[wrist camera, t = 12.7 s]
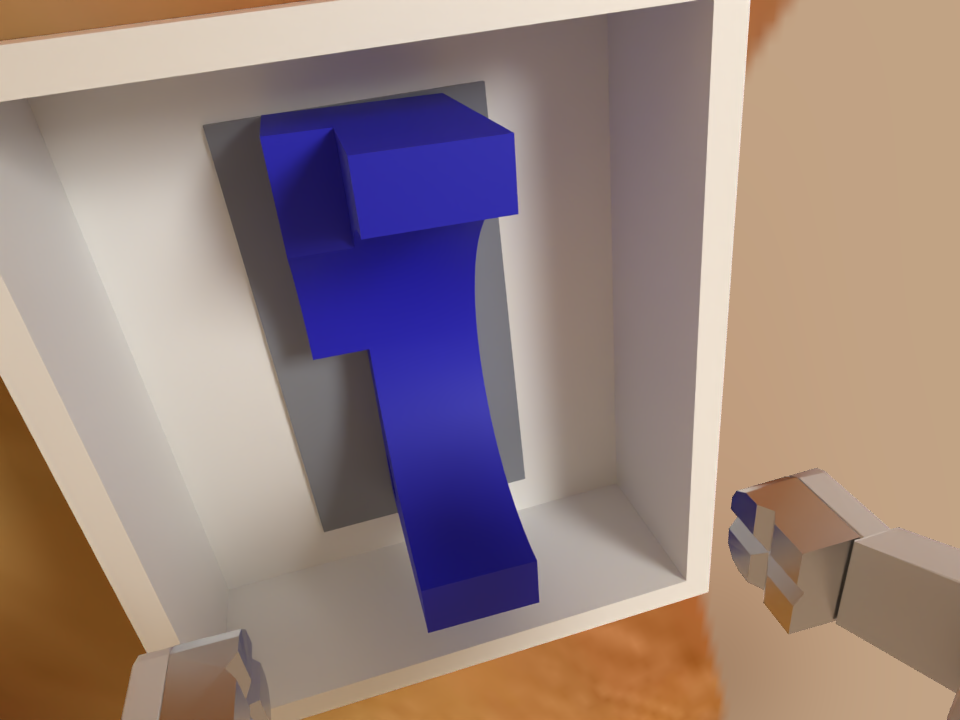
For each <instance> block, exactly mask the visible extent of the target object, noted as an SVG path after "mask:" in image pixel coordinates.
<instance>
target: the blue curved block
mask: <svg viewBox="0 0 960 720" xmlns="http://www.w3.org/2000/svg"><path fill="white" fill-rule="evenodd" d="M260 141H261V145H262V150H263V154H264V158H265V163H266V167H267V172H268V176H269V180H270V185H271V189H272V194H273V198H274V202H275V207H276V211H277V216H278V220H279V224H280V229H281V233H282V238H283V242H284V247H285V251H286V255H287V260H288V263H289V266H290V269H291V273H292V276H293V280H294V283H295V287H296V291H297V295H298V299H299V303H300V306H301V311H302V315H303V319H304V323H305V327H306V331H307V335H308V340H309V344H310V348H311V353H312V357H313V360H316V359H322V358H327V357H332V356H337V355H342V354H348V353H353V352H358V351H363V350H367V352H368V357H369V363H370V368H371V374H372V379H373V385H374V390H375V396H376V402H377V407H378V413H379V418H380V424H381V429H382V435H383V440H384V446H385V452H386V457H387V463H388V468H389V474H390V479H391V485H392V490H393V494H394V498H395V502H396V506H397V510H398V514H399V518H400V522H401V526H402V530H403V534H404V538H405V542H406V546H407V550H408V554H409V558H410V562H411V566H412V570H413V574H414V578H415V582H416V586H417V590H418V594H419V598H420V602H421V606H422V610H423V614H424V618H425V622H426V626H427V630H428V633H431V632H434V631H438V630H442V629H445V628H449V627H452V626H456V625H460V624H463V623H467V622H470V621H474V620H478V619H481V618H485V617H489V616H492V615H496V614H499V613H503V612H507V611H510V610H514V609H518V608H521V607H525V606H528V605H532V604H536V603H539V584H538V566H537V559H536V557H535V555H534V553H533V550H532V548H531V546H530V543H529V541H528V539H527V536H526V534H525V531H524V529H523V526H522V523H521V521H520V518H519V515H518V512H517V509H516V507H515V504H514V501H513V498H512V495H511V491H510V488H509V485H508V482H507V478H506V475H505V472H504V468H503V465H502V461H501V457H500V454H499V450H498V446H497V442H496V438H495V434H494V429H493V425H492V420H491V416H490V411H489V406H488V401H487V396H486V390H485V385H484V379H483V373H482V366H481V359H480V352H479V343H478V334H477V323H476V308H475V264H476V253H477V246H478V240H479V236H480V232H481V228H482V226H483V223H484V221H485V220H486V219H492V218H498V217H504V216H511V215H517V214H519V213H518V194H517V176H516V157H515V139H514V132H512V131H510V130H508V129H506V128H505V127H503V126H501V125H499V124H497V123H496V122H494V121H492V120H490V119H488V118H487V117H485V116H483V115H481V114H479V113H478V112H476V111H474V110H472V109H471V108H469V107H467V106H465V105H463V104H462V103H460V102H458V101H456V100H454V99H453V98H451V97H449V96H447V95H445V94H444V93H438V94H430V95H422V96H413V97H405V98H397V99H389V100H381V101H373V102H365V103H357V104H348V105H340V106H332V107H324V108H316V109H308V110H299V111H291V112H283V113H275V114H267V115H261V123H260Z"/></svg>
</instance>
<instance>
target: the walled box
mask: <svg viewBox="0 0 960 720" xmlns="http://www.w3.org/2000/svg"><path fill="white" fill-rule="evenodd" d="M749 13H750V0H308V1H300V2H293V3H285V4H277V5H270V6H262V7H255V8H247V9H239V10H232V11H224V12H216V13H209V14H201V15H194V16H186V17H178V18H171V19H163V20H156V21H148V22H140V23H133V24H125V25H118V26H110V27H102V28H95V29H87V30H80V31H72V32H64V33H57V34H49V35H42V36H34V37H26V38H19V39H11V40H4V41H0V376H1V378H2V380H3V381H4V383H5V385H6V387H7V389H8V391H9V393H10V395H11V397H12V399H13V400H14V402H15V404H16V406H17V408H18V410H19V412H20V414H21V416H22V417H23V419H24V421H25V423H26V425H27V427H28V429H29V431H30V433H31V435H32V436H33V438H34V440H35V442H36V444H37V446H38V448H39V450H40V452H41V453H42V455H43V457H44V459H45V461H46V463H47V465H48V467H49V469H50V471H51V472H52V474H53V476H54V478H55V480H56V482H57V484H58V486H59V488H60V489H61V491H62V493H63V495H64V497H65V499H66V501H67V503H68V505H69V507H70V508H71V510H72V512H73V514H74V516H75V518H76V520H77V522H78V524H79V525H80V527H81V529H82V531H83V533H84V535H85V537H86V539H87V541H88V543H89V544H90V546H91V548H92V550H93V552H94V554H95V556H96V558H97V560H98V561H99V563H100V565H101V567H102V569H103V571H104V573H105V575H106V577H107V579H108V580H109V582H110V584H111V586H112V588H113V590H114V592H115V594H116V596H117V597H118V599H119V601H120V603H121V605H122V607H123V609H124V611H125V613H126V615H127V616H128V618H129V620H130V622H131V624H132V626H133V628H134V630H135V632H136V633H137V635H138V637H139V639H140V641H141V643H142V645H143V647H144V649H145V651H146V652H147V653H150V652H154V651H158V650H161V649H165V648H169V647H173V646H175V645H179V644H183V643H187V642H191V641H195V640H199V639H203V638H207V637H211V636H215V635H219V634H223V633H227V632H231V631H235V630H239V629H246V631H247V634H248V636H249V638H250V640H251V642H252V659H254V660H256V661H258V662H260V663H261V666H262V668H263V670H264V673H265V677H266V680H267V684H268V689H269V697H270V705H271V720H300V719H303V718H307V717H310V716H313V715H316V714H319V713H323V712H326V711H329V710H332V709H335V708H339V707H342V706H345V705H348V704H351V703H355V702H358V701H361V700H364V699H367V698H371V697H374V696H377V695H380V694H383V693H387V692H390V691H393V690H396V689H399V688H403V687H406V686H409V685H412V684H415V683H419V682H422V681H425V680H428V679H431V678H435V677H438V676H441V675H444V674H447V673H451V672H454V671H457V670H460V669H463V668H467V667H470V666H473V665H476V664H479V663H483V662H486V661H489V660H492V659H496V658H499V657H502V656H505V655H508V654H512V653H515V652H518V651H521V650H524V649H528V648H531V647H534V646H537V645H540V644H544V643H547V642H550V641H553V640H556V639H560V638H563V637H566V636H569V635H572V634H576V633H579V632H582V631H585V630H588V629H592V628H595V627H598V626H601V625H604V624H608V623H611V622H614V621H617V620H620V619H624V618H627V617H630V616H633V615H636V614H640V613H643V612H646V611H649V610H652V609H656V608H659V607H662V606H665V605H668V604H672V603H675V602H678V601H681V600H684V599H688V598H691V597H694V596H697V595H700V594H704V593H707V592H708V591H709V577H710V563H711V549H712V535H713V521H714V506H715V493H716V479H717V464H718V450H719V436H720V421H721V408H722V393H723V380H724V365H725V351H726V337H727V323H728V308H729V295H730V281H731V267H732V265H731V264H732V253H733V238H734V224H735V210H736V196H737V182H738V168H739V154H740V153H739V152H740V140H741V126H742V125H741V124H742V111H743V97H744V83H745V69H746V55H747V41H748V27H749ZM438 93H444V94H445V95H447V96H449V97H451V98H453V99H454V100H456V101H458V102H460V103H462V104H463V105H465V106H467V107H469V108H471V109H472V110H474V111H476V112H478V113H479V114H481V115H483V116H485V117H487V118H488V119H490V120H492V121H494V122H496V123H497V124H499V125H501V126H503V127H505V128H506V129H508V130H510V131H512V132H514V139H515V157H516V176H517V194H518V213H519V214H517V215H511V216H504V217H498V218H492V219H486V220H485V221H484V223H483V226H482V228H481V232H480V236H479V240H478V246H477V253H476V264H475V308H476V323H477V334H478V343H479V352H480V359H481V366H482V373H483V379H484V385H485V390H486V396H487V401H488V406H489V411H490V416H491V420H492V425H493V429H494V434H495V438H496V442H497V446H498V450H499V454H500V457H501V461H502V465H503V468H504V472H505V475H506V478H507V482H508V485H509V488H510V491H511V495H512V498H513V501H514V504H515V507H516V509H517V512H518V515H519V518H520V521H521V523H522V526H523V529H524V531H525V534H526V536H527V539H528V541H529V543H530V546H531V548H532V550H533V553H534V555H535V557H536V559H537V566H538V584H539V603H536V604H532V605H528V606H525V607H521V608H518V609H514V610H510V611H507V612H503V613H499V614H496V615H492V616H489V617H485V618H481V619H478V620H474V621H470V622H467V623H463V624H460V625H456V626H452V627H449V628H445V629H442V630H438V631H434V632H431V633H428V630H427V626H426V622H425V618H424V614H423V610H422V606H421V602H420V598H419V594H418V590H417V586H416V582H415V578H414V574H413V570H412V566H411V562H410V558H409V554H408V550H407V546H406V542H405V538H404V534H403V530H402V526H401V522H400V518H399V514H398V510H397V506H396V502H395V498H394V494H393V490H392V485H391V479H390V474H389V468H388V463H387V457H386V452H385V446H384V440H383V435H382V429H381V424H380V418H379V413H378V407H377V402H376V396H375V390H374V385H373V379H372V374H371V368H370V363H369V357H368V352H367V350H363V351H358V352H353V353H348V354H342V355H337V356H332V357H327V358H322V359H316V360H313V357H312V353H311V348H310V344H309V340H308V335H307V331H306V327H305V323H304V319H303V315H302V311H301V306H300V303H299V299H298V295H297V291H296V287H295V283H294V280H293V276H292V273H291V269H290V266H289V263H288V260H287V255H286V251H285V247H284V242H283V238H282V233H281V229H280V224H279V220H278V216H277V211H276V207H275V202H274V198H273V194H272V189H271V185H270V180H269V176H268V172H267V167H266V163H265V158H264V154H263V150H262V145H261V141H260V123H261V115H267V114H275V113H283V112H291V111H299V110H308V109H316V108H324V107H332V106H340V105H348V104H357V103H365V102H373V101H381V100H389V99H397V98H405V97H413V96H422V95H430V94H438Z"/></svg>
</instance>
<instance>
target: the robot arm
mask: <svg viewBox="0 0 960 720" xmlns="http://www.w3.org/2000/svg"><path fill="white" fill-rule="evenodd" d="M731 509H732V511H733V512H734V513H735V514H736V515H737V518H736V520H735V521H734V522H733V524H732V525H731V526H730V528H729V539H728V544H729V548H730V551H731V555H732V559H733V561H734V563H735V565H736V566H737V568H738V570H739V572H740V573H741V574H742V576H743V577H744V578H745V580H746V581H747V582H748V583H750V584H753V585H755V586H757V587H759V588H761V589H763V590H764V602H763V603H764V604H765V605H766V606H767V608H768V609H769V610H770V611H771V613H772V614H773V615H774V617H775V618H776V619H777V620H778V622H779V623H780V624H781V625H782V627H783V628H784V629H785V630H786V632H787V633H788V634H791V633H795V632H798V631H801V630H805V629H808V628H812V627H815V626H819V625H822V624H826V623H829V622H833V621H836V624H837V625H839V626H841V627H843V628H844V629H846V630H848V631H849V632H851V633H853V634H855V635H856V636H858V637H860V638H862V639H864V640H865V641H867V642H869V643H870V644H872V645H874V646H876V647H877V648H879V649H881V650H882V651H884V652H886V653H888V654H889V655H891V656H893V657H894V658H896V659H898V660H900V661H901V662H903V663H905V664H907V665H909V666H910V667H912V668H914V669H915V670H917V671H919V672H921V673H922V674H924V675H926V676H927V677H929V678H931V679H933V680H934V681H936V682H938V683H939V684H941V685H943V686H945V687H946V688H948V689H950V690H952V691H953V692H955V693H956V695H955V698H954V701H953V704H952V706H951V708H950V711H949V714H948V717H947V720H960V549H958V548H955V547H952V546H950V545H947V544H944V543H941V542H939V541H936V540H933V539H930V538H927V537H925V536H922V535H919V534H916V533H913V532H911V531H908V530H905V529H902V528H900V527H898V528H895V529H890V528H889V527H888V526H886V525H885V524H884V523H883V522H882V521H881V520H880V519H879V518H877V517H876V516H875V515H874V514H873V513H872V512H871V511H869V510H868V509H867V508H866V507H865V506H864V505H863V504H862V503H860V502H859V501H858V500H857V499H856V498H855V497H854V496H853V495H851V494H850V493H849V492H848V491H847V490H846V489H845V488H844V487H842V486H841V485H840V484H839V483H838V482H837V481H836V480H834V479H833V478H832V477H831V476H830V475H829V474H828V473H827V472H825V471H824V470H821V469H818V468H815V469H811V470H808V471H804V472H801V473H797V474H794V475H790V476H789V477H783V478H779V479H775V480H772V481H769V482H765V483H762V484H758V485H755V486H751V487H748V488H745V489H741V490H738V491H736V493H735V494H734V496H733V497H732V504H731ZM121 720H271V705H270V697H269V689H268V684H267V680H266V677H265V673H264V670H263V668H262V666H261V663H260V662H258V661H256V660H254V659H252V642H251V640H250V638H249V636H248V634H247V631H246V629H239V630H235V631H231V632H227V633H223V634H219V635H215V636H211V637H207V638H203V639H199V640H195V641H191V642H187V643H183V644H179V645H175V646H173V647H169V648H165V649H161V650H158V651H154V652H150V653H146V654H142V655H139V656H138V657H137V659H136V661H135V662H134V664H133V666H132V669H131V674H130V679H129V684H128V688H127V693H126V698H125V702H124V707H123V712H122V717H121Z"/></svg>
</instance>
